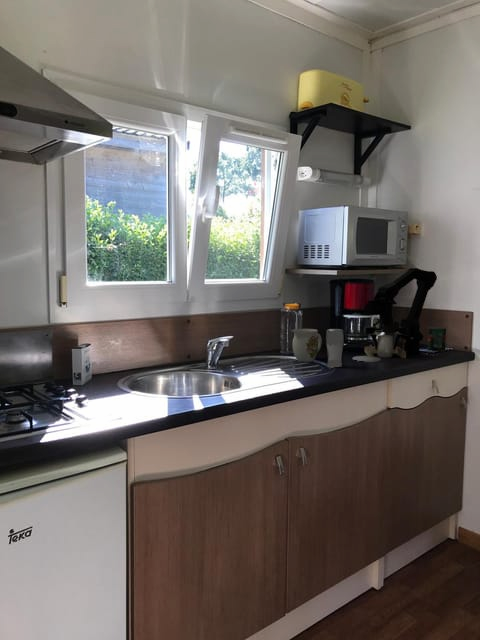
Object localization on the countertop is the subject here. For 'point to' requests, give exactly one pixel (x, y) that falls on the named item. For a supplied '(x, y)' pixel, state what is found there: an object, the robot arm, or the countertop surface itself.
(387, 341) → the cream jug
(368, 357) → the grey trivet
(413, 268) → the robot arm
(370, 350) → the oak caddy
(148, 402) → the countertop surface
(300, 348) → the pitcher
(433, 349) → the canned tomato
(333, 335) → the beer glass
